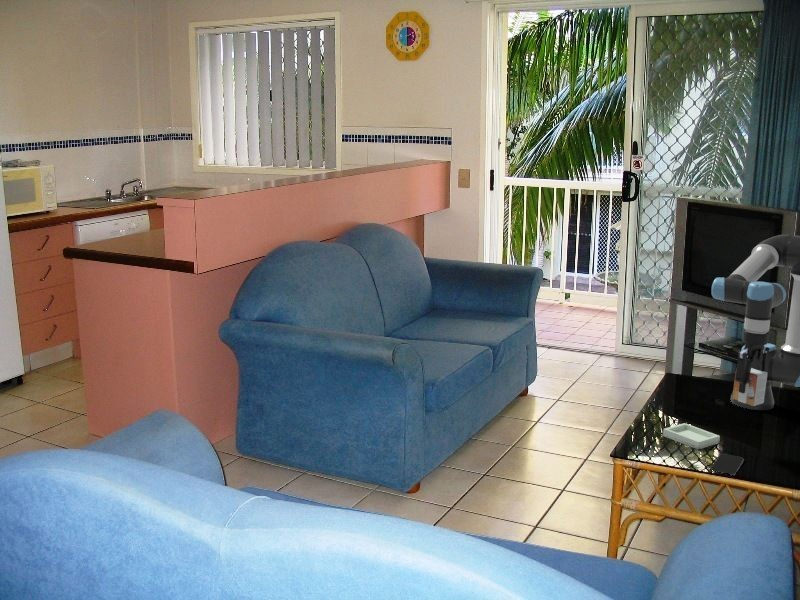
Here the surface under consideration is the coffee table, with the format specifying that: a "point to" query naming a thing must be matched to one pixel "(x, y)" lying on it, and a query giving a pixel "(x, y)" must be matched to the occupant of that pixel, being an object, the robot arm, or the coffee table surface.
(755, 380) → the small box
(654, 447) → the coffee table surface
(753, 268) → the robot arm
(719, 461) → the smartphone
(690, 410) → the coffee table surface
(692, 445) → the tray
